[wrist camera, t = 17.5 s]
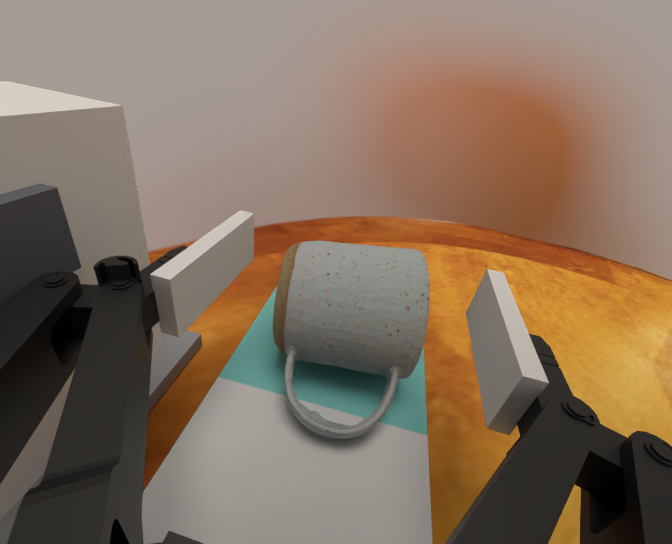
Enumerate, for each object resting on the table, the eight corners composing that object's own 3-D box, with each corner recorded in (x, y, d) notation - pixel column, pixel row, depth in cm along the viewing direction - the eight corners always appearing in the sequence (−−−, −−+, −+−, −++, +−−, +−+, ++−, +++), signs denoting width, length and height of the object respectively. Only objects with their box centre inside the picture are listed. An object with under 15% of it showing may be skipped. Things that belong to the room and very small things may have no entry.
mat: (418, 312, 28) (421, 304, 28) (439, 922, 8) (450, 928, 7) (285, 279, 29) (286, 271, 29) (-5, 740, 9) (-17, 738, 8)
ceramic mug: (287, 303, 25) (296, 210, 21) (392, 319, 25) (422, 230, 21) (249, 438, 16) (251, 322, 12) (412, 460, 16) (470, 355, 12)
